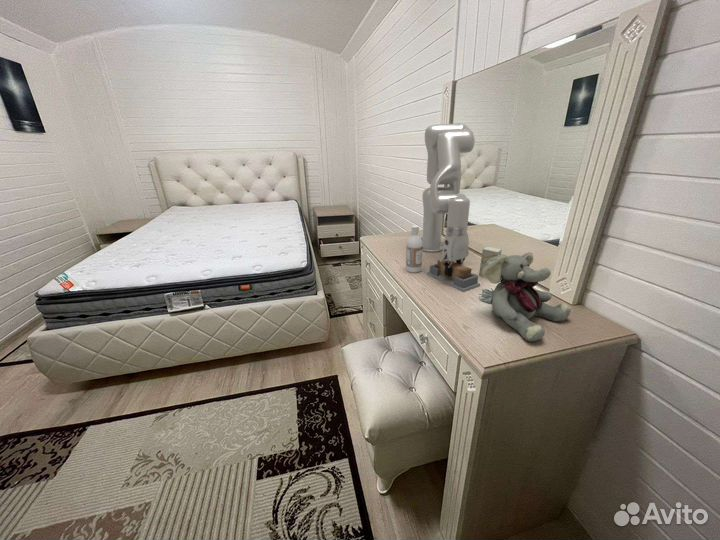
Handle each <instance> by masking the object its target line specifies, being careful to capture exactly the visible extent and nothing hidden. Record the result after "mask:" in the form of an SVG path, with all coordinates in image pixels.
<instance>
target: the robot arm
mask: <svg viewBox="0 0 720 540" xmlns="http://www.w3.org/2000/svg"><path fill="white" fill-rule="evenodd" d="M475 139H476V138H475V135H474V132H473V131H472V129H471V127H468V125H467V124H465V123H440V124H432V125H429V126H428V127H426V129H425V132H424V144H425V148H426V152H427V163H426V164H427V165H426V166H427V167H426V182H427V183H428V184H429V185H430V186H429V187H427V188H426V189H424V190H423V193H422V204H423V205H422V206H423V218H422V222H423V223H422V236H420V238H421V240H422V243H423V252H426V251H427V253H437V252H442V253H441V257H440V259H439V260H440V262H441V263H443V265H444V266H445V275H446V276H448V277H451V275H452V268H451V265H452V262H456V263H458V264H461V265H463V264H464V262H465V259H467V257H468V256H469V246H470V245H469V244H470V243H469V242H470V241H469V239H470V238H469V233H468V223H469V215H470V206H471V205H470V204H471V202H470V198H468V197H467V195H465V194H464V193H460V192H461V191H460V190H461V181H462V161H461V154H463V153H464V154H465V153H466V154H468V153H471V152H472V151H473V149H474V147H475V142H476V141H475ZM439 185H441V186H439ZM442 185H449V186H442ZM443 214H447V218H446V219H447V220H446V229H445V235H444V239H443V245H442V243H441V242H442V232H443V231H442V230H443ZM441 250H442V251H441ZM448 261H449V264H448Z"/></svg>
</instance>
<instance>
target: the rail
mask: <svg viewBox="0 0 720 540" xmlns="http://www.w3.org/2000/svg"><path fill="white" fill-rule="evenodd" d="M439 271H440V269H439V268H437V263H435V264H431V265H429V271H427V272H426V275H428V276H430V277H432V278H433V279H436V280H438V281H440V282H442V283H445V284H446V285H449V286H451V287H453V288H454V289H456V290H459V291H460V292H463V293H464V292H467V291H469V290H473V289H475V288H478V287H480V286H481V283H480V282H479V281H478V280H479V275H477V274H474V273H472V272H471V277H469V278H466V279H461V278H459V277H457V276H456V277H454V281H452V280H450V279H448V278H446V277H443V276H441V275H439Z"/></svg>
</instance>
